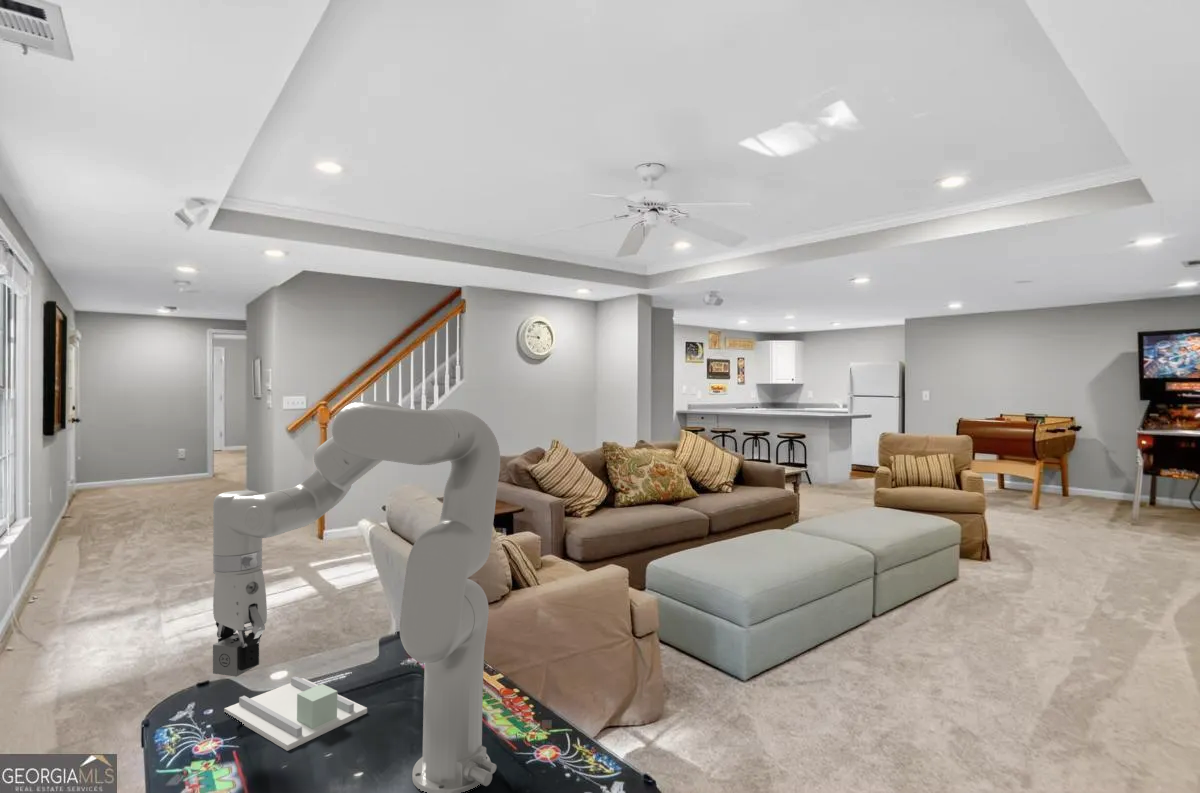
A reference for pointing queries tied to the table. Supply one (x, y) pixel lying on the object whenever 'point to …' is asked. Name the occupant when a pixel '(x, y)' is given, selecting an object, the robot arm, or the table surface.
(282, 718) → the rail board
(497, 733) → the table surface
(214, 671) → the dice cube
